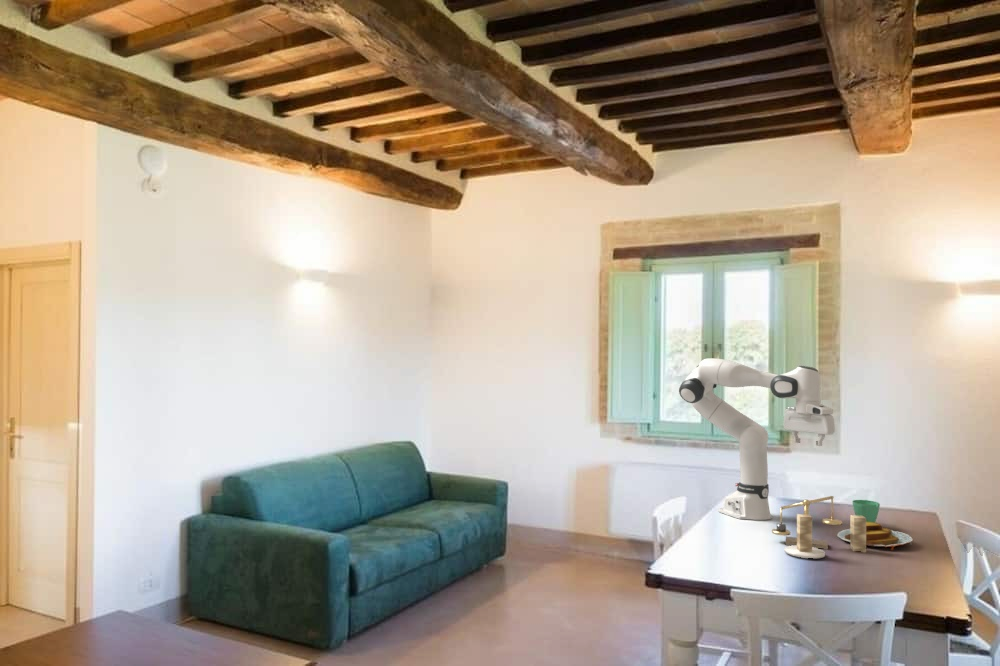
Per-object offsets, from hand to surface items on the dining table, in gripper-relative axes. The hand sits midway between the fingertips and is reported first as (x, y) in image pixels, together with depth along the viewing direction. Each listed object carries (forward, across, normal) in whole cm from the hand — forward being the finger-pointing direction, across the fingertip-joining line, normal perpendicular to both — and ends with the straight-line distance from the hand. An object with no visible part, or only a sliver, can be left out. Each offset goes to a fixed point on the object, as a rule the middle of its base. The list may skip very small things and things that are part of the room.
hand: (808, 444), depth 275 cm
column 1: (+34, +16, -24) cm, 44 cm away
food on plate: (+36, +17, +15) cm, 42 cm away
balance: (+35, +8, -12) cm, 38 cm away
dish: (+35, +16, -24) cm, 45 cm away
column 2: (+35, +22, -2) cm, 41 cm away
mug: (+35, +1, +36) cm, 50 cm away
